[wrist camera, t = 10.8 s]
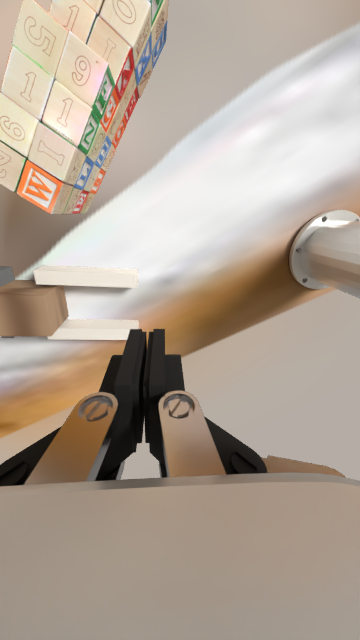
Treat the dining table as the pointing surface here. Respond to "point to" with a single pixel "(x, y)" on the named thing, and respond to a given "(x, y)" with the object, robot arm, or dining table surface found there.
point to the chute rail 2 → (94, 329)
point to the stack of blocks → (73, 94)
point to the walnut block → (31, 308)
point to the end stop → (6, 281)
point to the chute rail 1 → (86, 276)
